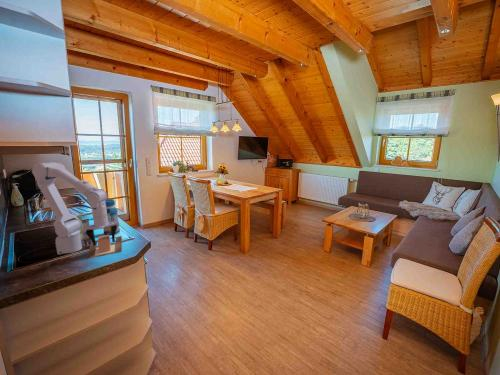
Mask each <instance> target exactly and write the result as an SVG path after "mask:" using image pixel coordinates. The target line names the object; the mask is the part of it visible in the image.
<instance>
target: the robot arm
mask: <svg viewBox="0 0 500 375" xmlns="http://www.w3.org/2000/svg"><path fill="white" fill-rule="evenodd" d="M31 173H32V175H33V176H34V178H35V180H36V183H37V186H38V188H39V190H40V192H41V193H42V195H43V196H44V199H45V200H46V202H47V205H49V207H50V209H51V211H52V213H53V214H54V216H55V220H54V222H53V223H52V224H53V227H54V231H55V234H56V235H57V236H56V238H55V249H56V253H57V255H63V254H69V253H70V254H71V253H75V252H78V251H81V250H82V249H83V245H82V244H83V243H82V241H81V238H80V232H81V231H80V229H81V228H82V222H81V221H80V220H79V218H77V216H78V215H76V214H72V213H71V212H70V211H69V209H68V207H67V205H66V203H65V201H64V200H63V197H62V196H61V193H60V191H59V190H58V188H57V187H56V185H55V183H56V181H57V180H58V179H59V178H60V179H61V180H63V181H64V182H66V183H68V184H69V185H72V186H74V190H75V191H76V192H78V193H79V194H80V195H82V196H83V197H85V198H86V201H87V202H88V203H89V207H90V208H91V212H92V214H91V215H92V218H93V219H92V221H93V224H91V225H89V226H85V227H83V232H86V234H87V235H88V237H89V238H90V239H89V240H91V242H93V245H96V238H95V232H94V231H95V230H102V229H103V228H109V227H111V233H112V235H111V238H112V239H111V241H112V243H115V238H114V237H116V236H115V232H116V230H117V227H118V226H119V227H120V221H119V220H118V222H108V217H107V210H106V203H105V200H107V199H108V193H107V192H106V191H105V189H103V188H97V186H94V185H92V184H91V183H90V182H89V181H88V180H85V179H84V180H83V179H82V180H81V179H79V178H78V177H76V176H75V175H74V174H73V173H71V172H70V171H69V170H67V169H66V167H65V165H64V164H62V163H61V162H59V161H52V162H51V161H50V162H42V163H41V162H39V163H35V164H34V165H33V167H32V169H31Z"/></svg>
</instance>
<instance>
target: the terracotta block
mask: <svg viewBox="0 0 500 375" xmlns="http://www.w3.org/2000/svg"><path fill="white" fill-rule="evenodd" d="M110 238H111V236H109V235H104V234H103V235H99V236H98V238H97V240H98V242H97V246H98V248H99V253H102V252H107V251H110V250H111V244H112V243H111V239H110Z"/></svg>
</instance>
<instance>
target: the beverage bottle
mask: <svg viewBox="0 0 500 375" xmlns="http://www.w3.org/2000/svg"><path fill="white" fill-rule="evenodd" d="M105 203H106V210H107V217H108V222H118V221H119V214H118V208H117V207H116V206H115V205H116V201H115V199H113V198H107V199H106V200H105ZM120 233H121V229H120V225H119V226H118V227H117V230H116V232H115V235H119V234H120ZM104 235H109V236H110V237H112V233H111V227H109V228H103V236H104Z"/></svg>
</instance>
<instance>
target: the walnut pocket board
mask: <svg viewBox="0 0 500 375" xmlns="http://www.w3.org/2000/svg"><path fill="white" fill-rule="evenodd" d="M114 239H115V242H112V243H111V245H114V244H115V252H112V253H107V254H102V255H98V256H94V255H95V251H96V248H98V239H97V240H96V239H95V241H96V245H93V242H92V241H91V243H90V245H89V250H88V252H87V256H86V260H90V259H94V258H98V257H104V256H109V255H114V254H119V253H122V252H123V250H122V249H123V248H122V245H123V244H122V243H123V241H122V239H123V238H122V235H119V236H114ZM110 240H112V237H110Z"/></svg>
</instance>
